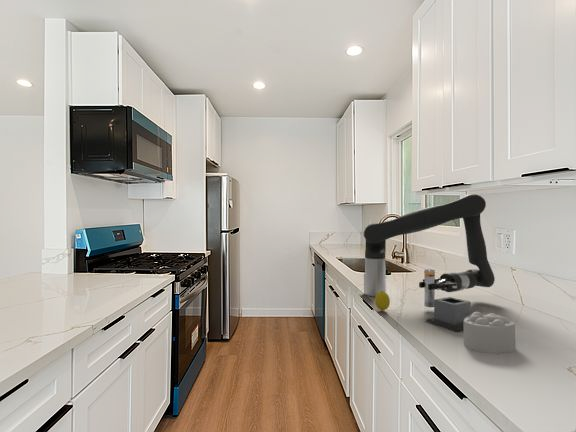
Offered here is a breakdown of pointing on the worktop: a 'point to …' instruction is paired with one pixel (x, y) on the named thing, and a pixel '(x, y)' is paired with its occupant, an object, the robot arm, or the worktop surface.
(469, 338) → the lumpy-topped squat cylinder
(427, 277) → the silver copper-banded cylinder
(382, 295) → the lemon
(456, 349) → the worktop surface
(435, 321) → the dark grey open bin
